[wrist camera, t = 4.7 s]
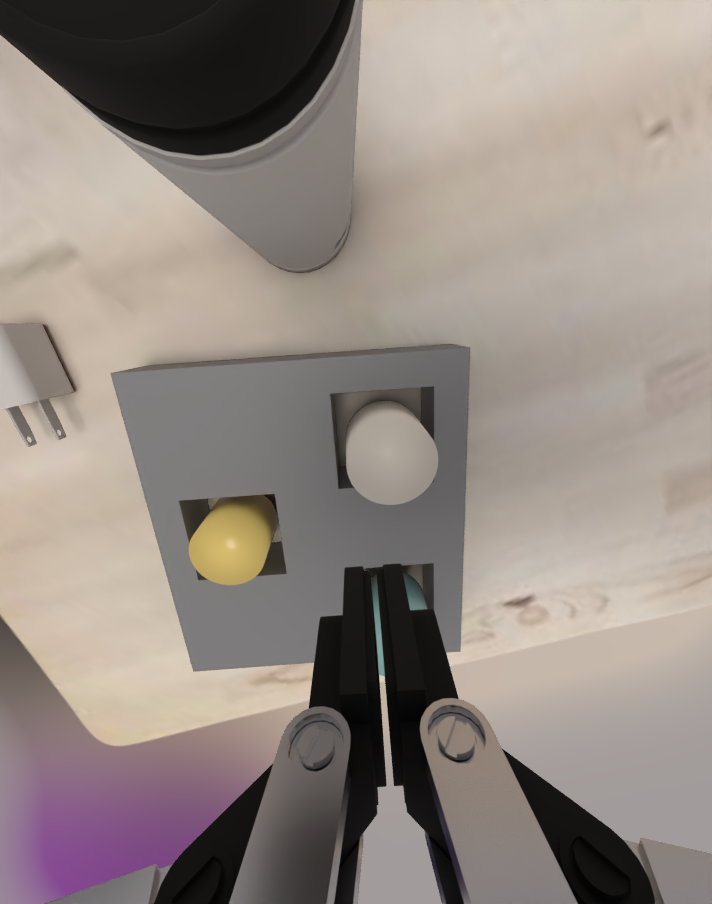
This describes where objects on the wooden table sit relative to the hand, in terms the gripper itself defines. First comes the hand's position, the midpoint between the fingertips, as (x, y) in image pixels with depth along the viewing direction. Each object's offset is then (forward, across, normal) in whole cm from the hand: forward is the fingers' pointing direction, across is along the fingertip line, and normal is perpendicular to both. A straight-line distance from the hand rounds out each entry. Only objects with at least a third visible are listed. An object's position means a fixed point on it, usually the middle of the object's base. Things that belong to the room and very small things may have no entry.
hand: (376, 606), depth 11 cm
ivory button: (+12, -1, -1) cm, 13 cm away
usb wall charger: (+16, +21, -6) cm, 27 cm away
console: (+16, +4, +5) cm, 17 cm away
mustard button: (+14, +9, +5) cm, 18 cm away
